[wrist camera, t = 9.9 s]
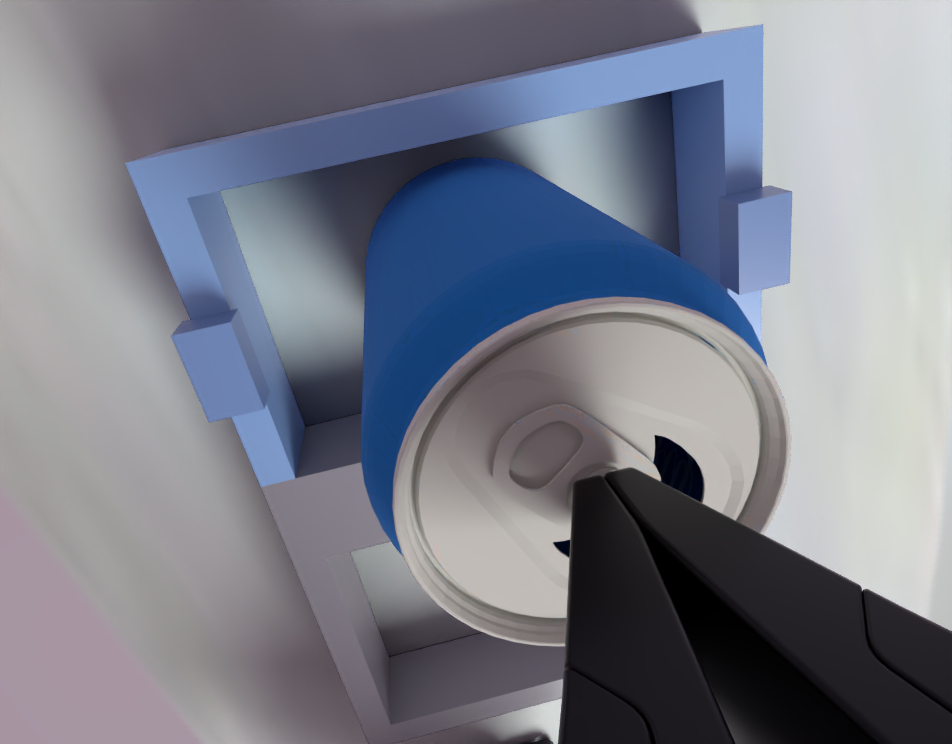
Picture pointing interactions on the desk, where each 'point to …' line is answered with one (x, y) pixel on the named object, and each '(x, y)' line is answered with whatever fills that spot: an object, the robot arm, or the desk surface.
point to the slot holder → (339, 441)
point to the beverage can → (543, 386)
